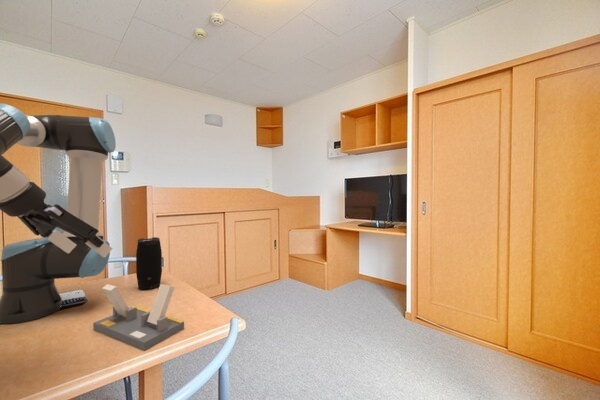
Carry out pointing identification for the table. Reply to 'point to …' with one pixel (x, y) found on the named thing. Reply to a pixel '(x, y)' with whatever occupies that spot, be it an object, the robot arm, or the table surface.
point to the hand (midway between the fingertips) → (89, 251)
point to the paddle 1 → (116, 299)
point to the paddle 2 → (160, 304)
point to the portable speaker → (148, 263)
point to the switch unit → (138, 327)
